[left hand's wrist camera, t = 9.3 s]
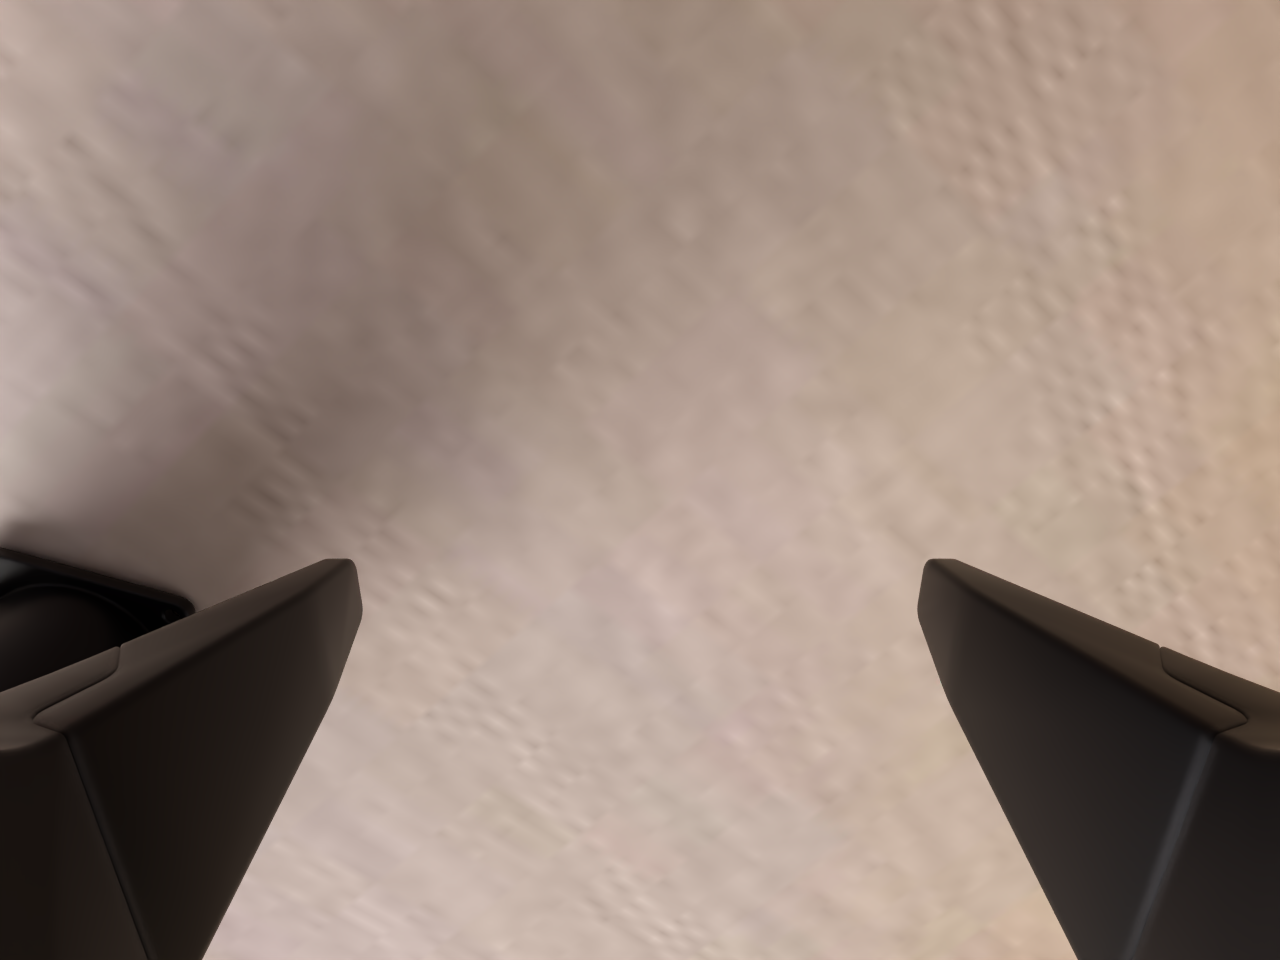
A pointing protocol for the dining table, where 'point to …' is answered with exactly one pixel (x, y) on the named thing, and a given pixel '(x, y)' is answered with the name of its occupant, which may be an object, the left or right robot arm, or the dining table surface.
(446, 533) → the dining table surface
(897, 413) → the dining table surface
